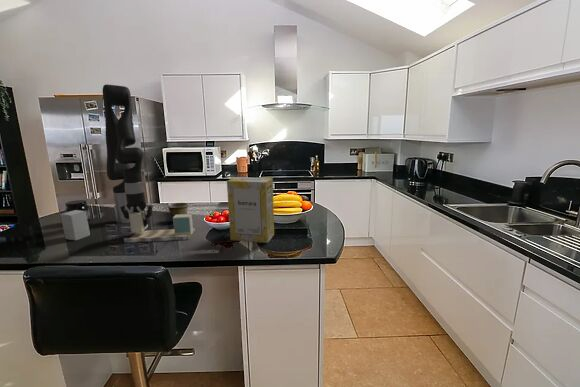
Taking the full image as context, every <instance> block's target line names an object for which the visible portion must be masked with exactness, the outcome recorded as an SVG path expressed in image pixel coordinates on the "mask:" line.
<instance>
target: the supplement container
mask: <svg viewBox="0 0 580 387" xmlns="http://www.w3.org/2000/svg"><path fill="white" fill-rule="evenodd" d="M74 210H79V211H86V216H87V221H88V223H89V222H91V220H92V218H91V215H90V214H91V213H90V206H89V205H88V203H87V200H86V199H76V200H71V201H67V202H65V213H67V212H70V211H74Z"/></svg>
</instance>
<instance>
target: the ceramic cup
mask: <svg viewBox="0 0 580 387" xmlns="http://www.w3.org/2000/svg"><path fill="white" fill-rule="evenodd" d="M188 207H189V203H187V202H175V203H171V204H169V205H168V210H169V213H170V217H171V219H172V221H173V217H174V216H175V215H180V214H188Z"/></svg>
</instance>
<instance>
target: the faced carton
mask: <svg viewBox="0 0 580 387" xmlns="http://www.w3.org/2000/svg"><path fill="white" fill-rule="evenodd" d="M172 223H173V229H174V232H175V236H178V235H191V234H192V233H194V232H193V228H194V225H193V224H194V223H193V216H192V213H187V214H180V215H175V216H174V217H173V220H172ZM192 235H193V234H192ZM192 235H191V236H192Z"/></svg>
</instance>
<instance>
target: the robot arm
mask: <svg viewBox="0 0 580 387" xmlns="http://www.w3.org/2000/svg"><path fill="white" fill-rule="evenodd" d="M102 99H103V100H102V101H103V108H104V118H105V119H104V120H105V143H106V176H107V178H108V180H110V181H118V180H119V181H120V180H122V181H121V183H119V184H117V185H115V186H113V187H112V192H113V197H114V198H113V199H114V204H115V205H114V206H113V210H114V214H115V215H114V216H115V222H116V223H118V224H127V223H130V218H129V214H130V213H133V212H141V214H142V217H143V225H144V227H146V226H147V224H148V225H149V222H148V219H149V218H150V217H151V216H152V214H153V207H154V205H153V204H147V202H146V196H145V187H144V184H143V179H142V165H143V160H144V152H143V150H142V149H141V148H140V147H137V146H135V147H130V146H133V145H135V144H136V136H135V130H134V125H133V124H134V123H133V122H134V120H133V106H132V105H133V104H132V102H133V101H132V96H131V91H130V89H129V87H127V86H123V85H116V84H108V83H107V84H104V85H103V86H102ZM113 107H124V109H123V112H122V115H121V116H120V117H119V118H118V116H117V115H116V113H115V111H114V110H113ZM130 164H134V165H133V167H130ZM145 209H146V211H145ZM142 211H144V212H142Z"/></svg>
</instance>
